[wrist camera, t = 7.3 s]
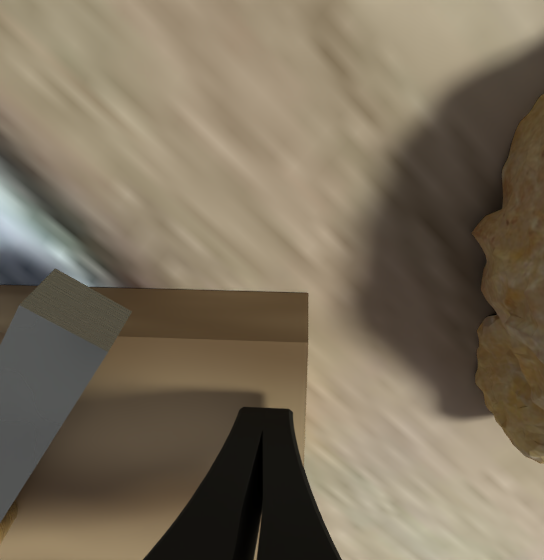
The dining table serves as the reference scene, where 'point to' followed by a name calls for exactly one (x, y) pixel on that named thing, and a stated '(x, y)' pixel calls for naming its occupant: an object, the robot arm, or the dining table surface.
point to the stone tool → (516, 293)
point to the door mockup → (156, 417)
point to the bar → (47, 373)
